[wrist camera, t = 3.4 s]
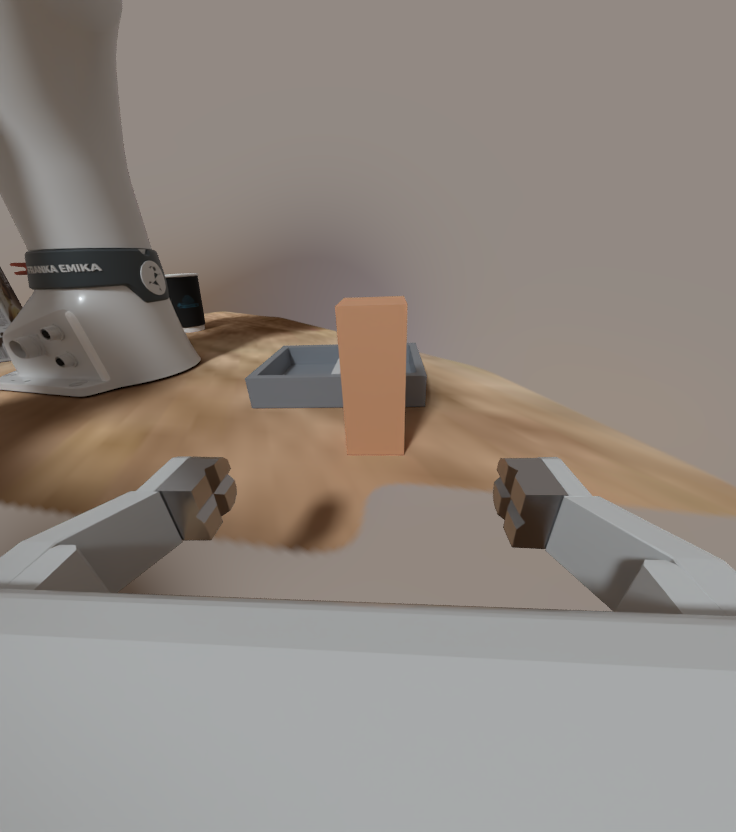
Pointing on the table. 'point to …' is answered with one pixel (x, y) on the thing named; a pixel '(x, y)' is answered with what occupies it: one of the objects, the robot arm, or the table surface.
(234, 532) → the table surface
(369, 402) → the block
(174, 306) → the dixie cup
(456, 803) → the robot arm
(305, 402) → the organiser
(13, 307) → the coffee box
